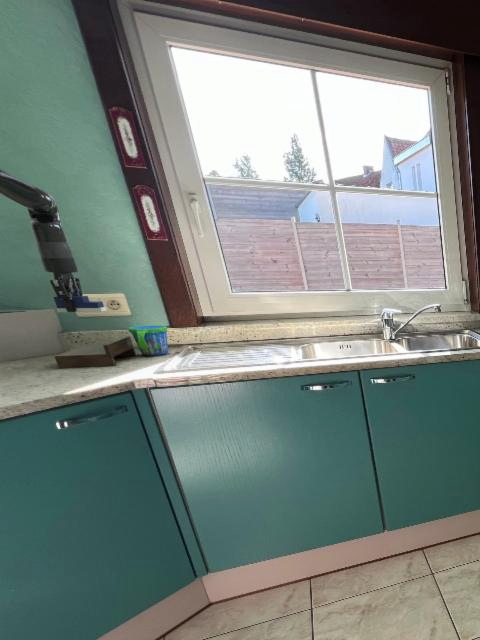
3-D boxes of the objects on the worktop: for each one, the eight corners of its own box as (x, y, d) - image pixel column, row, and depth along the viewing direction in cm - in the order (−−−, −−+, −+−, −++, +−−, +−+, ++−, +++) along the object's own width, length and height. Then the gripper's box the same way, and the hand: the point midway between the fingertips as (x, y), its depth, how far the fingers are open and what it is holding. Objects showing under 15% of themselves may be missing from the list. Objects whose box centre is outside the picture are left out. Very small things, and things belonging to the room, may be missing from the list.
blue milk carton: (57, 312, 161) (52, 296, 159) (64, 310, 165) (59, 295, 163) (101, 311, 166) (97, 297, 164) (107, 310, 169) (102, 295, 168)
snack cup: (161, 358, 179) (152, 329, 175) (126, 358, 176) (117, 330, 173) (182, 350, 193) (175, 324, 189) (151, 351, 190) (142, 324, 187)
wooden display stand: (58, 368, 160) (50, 346, 157) (86, 357, 177) (79, 337, 174) (114, 365, 166) (107, 345, 163) (136, 355, 182) (130, 336, 180)
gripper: (52, 256, 162) (70, 309, 169) (29, 256, 151) (49, 313, 157) (82, 256, 166) (99, 308, 172) (62, 257, 154) (81, 313, 160)
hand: (75, 310), depth 164 cm, fingers closed on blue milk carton, 4 cm apart
